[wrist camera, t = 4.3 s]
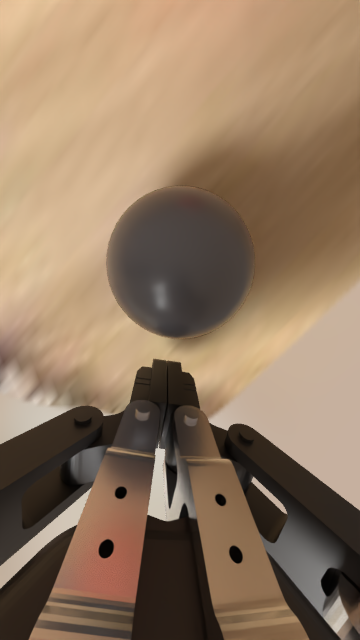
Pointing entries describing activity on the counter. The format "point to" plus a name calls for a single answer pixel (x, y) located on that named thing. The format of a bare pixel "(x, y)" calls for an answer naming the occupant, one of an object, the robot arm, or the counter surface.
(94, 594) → the robot arm
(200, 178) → the counter surface
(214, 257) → the dark gray ball
